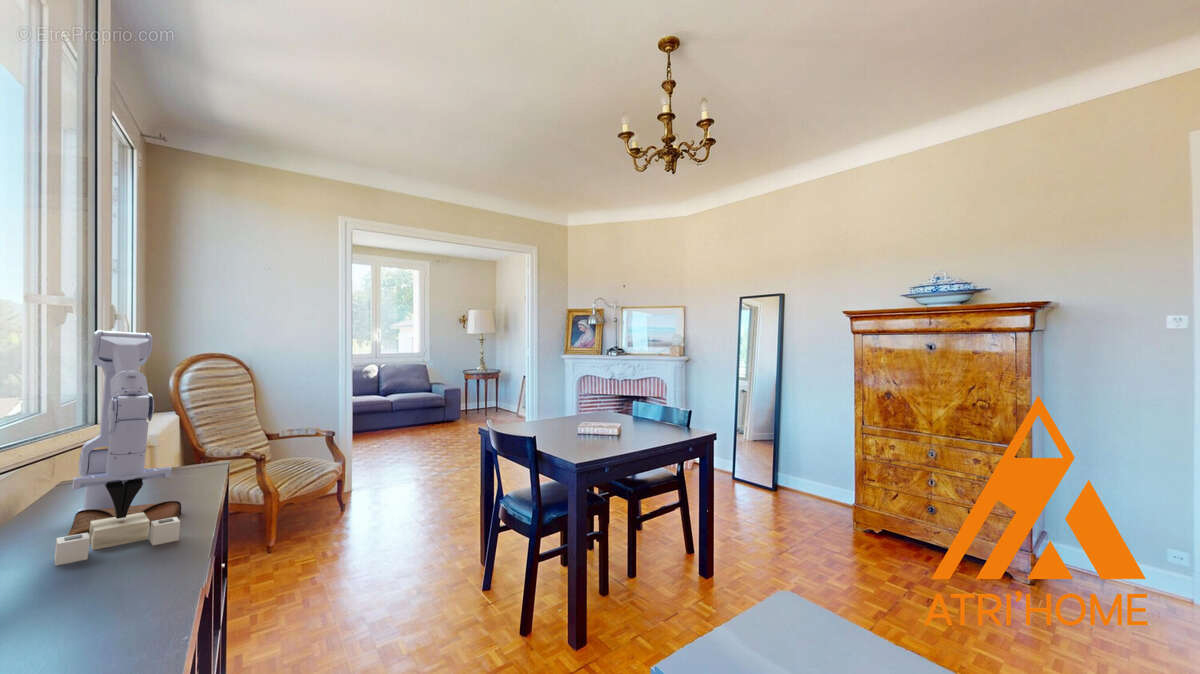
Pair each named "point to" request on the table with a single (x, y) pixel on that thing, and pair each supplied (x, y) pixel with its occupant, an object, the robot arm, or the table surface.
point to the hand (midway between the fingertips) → (120, 516)
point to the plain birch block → (118, 530)
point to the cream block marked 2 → (164, 530)
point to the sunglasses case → (150, 510)
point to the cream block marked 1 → (72, 548)
